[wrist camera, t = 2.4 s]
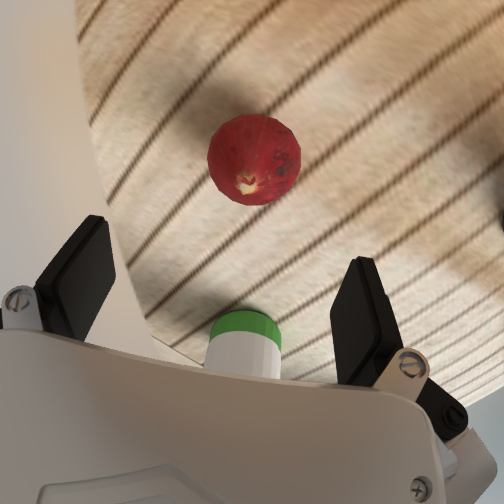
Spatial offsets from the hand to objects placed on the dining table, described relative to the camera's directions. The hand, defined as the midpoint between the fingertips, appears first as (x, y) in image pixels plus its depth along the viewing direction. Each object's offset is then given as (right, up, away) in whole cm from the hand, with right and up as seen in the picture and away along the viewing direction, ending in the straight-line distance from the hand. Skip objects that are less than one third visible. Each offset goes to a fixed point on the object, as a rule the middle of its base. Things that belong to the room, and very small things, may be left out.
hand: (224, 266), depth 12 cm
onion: (+1, +9, +11) cm, 14 cm away
